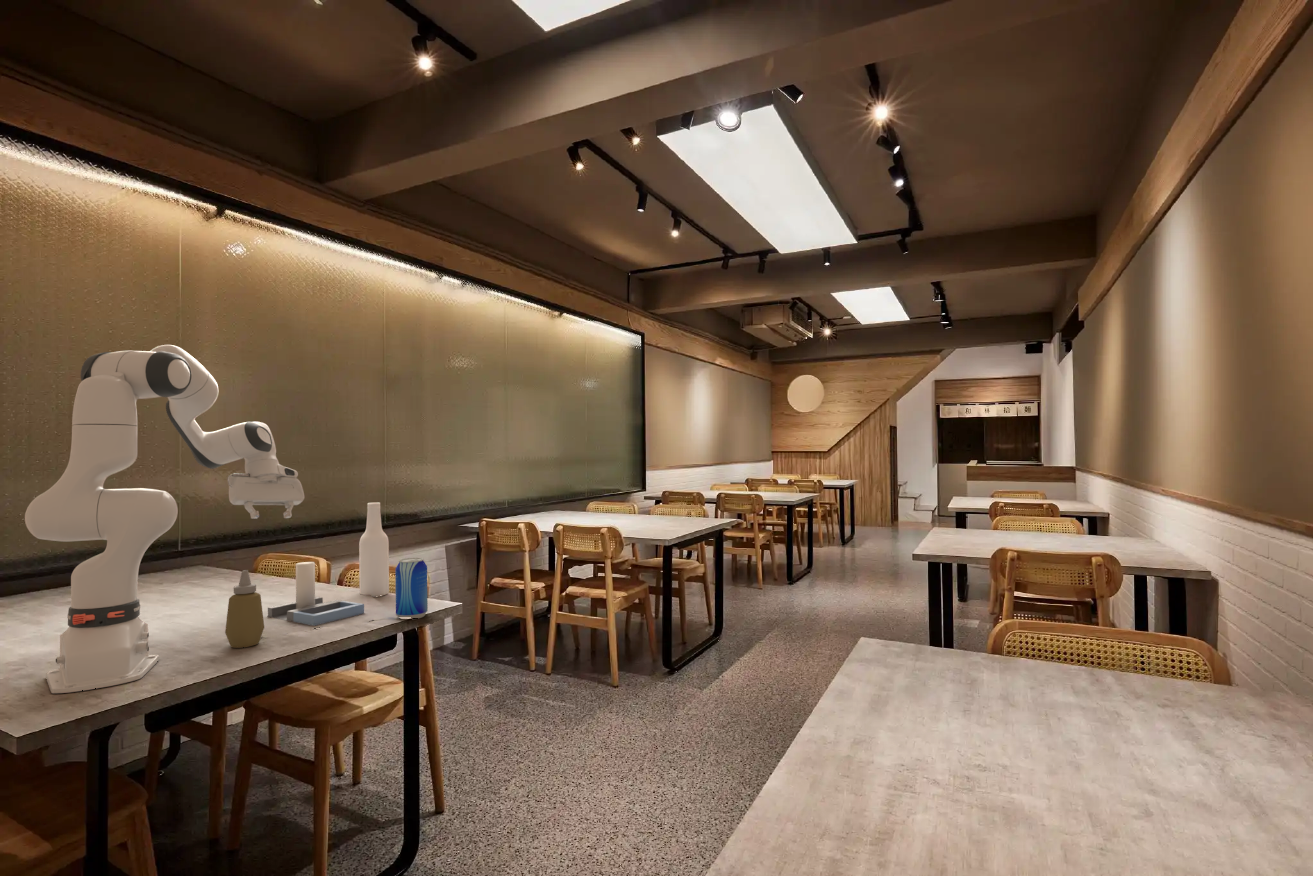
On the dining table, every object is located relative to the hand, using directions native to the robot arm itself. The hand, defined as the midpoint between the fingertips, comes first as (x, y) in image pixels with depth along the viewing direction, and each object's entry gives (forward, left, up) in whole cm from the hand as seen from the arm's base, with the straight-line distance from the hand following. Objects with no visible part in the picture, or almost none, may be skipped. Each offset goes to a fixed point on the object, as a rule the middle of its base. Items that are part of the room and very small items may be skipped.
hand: (272, 517), depth 191 cm
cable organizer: (-13, -9, -28) cm, 32 cm away
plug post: (-9, -7, -27) cm, 29 cm away
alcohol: (+9, -29, -28) cm, 42 cm away
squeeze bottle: (-31, +9, -28) cm, 43 cm away
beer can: (-28, -31, -28) cm, 51 cm away
